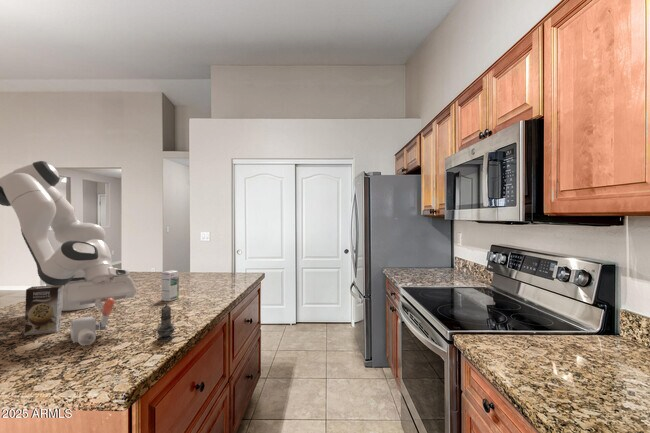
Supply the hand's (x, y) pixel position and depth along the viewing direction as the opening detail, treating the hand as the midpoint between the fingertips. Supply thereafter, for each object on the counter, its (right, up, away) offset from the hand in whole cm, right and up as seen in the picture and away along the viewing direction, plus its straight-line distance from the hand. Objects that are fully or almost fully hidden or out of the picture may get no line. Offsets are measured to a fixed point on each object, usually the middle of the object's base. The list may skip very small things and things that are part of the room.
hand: (105, 311), depth 111 cm
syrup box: (-4, -10, +54) cm, 55 cm away
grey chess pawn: (+20, -10, +1) cm, 23 cm away
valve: (-8, -9, 0) cm, 12 cm away
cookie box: (-27, -9, +6) cm, 29 cm away
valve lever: (-5, -7, +5) cm, 10 cm away
